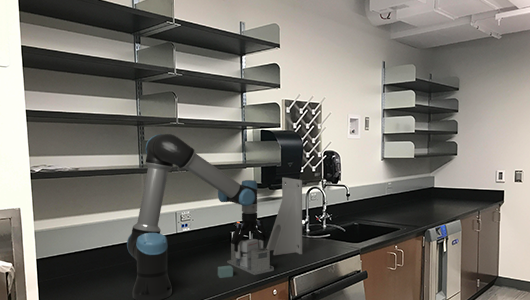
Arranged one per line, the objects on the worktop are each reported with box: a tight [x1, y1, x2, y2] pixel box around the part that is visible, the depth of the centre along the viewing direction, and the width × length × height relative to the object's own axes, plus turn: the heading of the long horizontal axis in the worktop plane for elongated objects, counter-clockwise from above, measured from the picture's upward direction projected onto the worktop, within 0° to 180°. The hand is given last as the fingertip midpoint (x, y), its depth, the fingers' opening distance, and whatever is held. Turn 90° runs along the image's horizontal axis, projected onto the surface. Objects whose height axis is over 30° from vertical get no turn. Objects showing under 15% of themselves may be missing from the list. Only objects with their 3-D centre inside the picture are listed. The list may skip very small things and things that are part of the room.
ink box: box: [240, 238, 259, 267], centre depth 202 cm, size 8×5×12 cm, turn 140°
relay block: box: [217, 264, 234, 279], centre depth 189 cm, size 6×4×4 cm, turn 111°
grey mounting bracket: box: [265, 177, 303, 256], centre depth 230 cm, size 20×14×40 cm
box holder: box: [226, 240, 275, 276], centre depth 203 cm, size 11×24×10 cm, turn 36°
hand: (249, 255), depth 203 cm, fingers open, 13 cm apart
